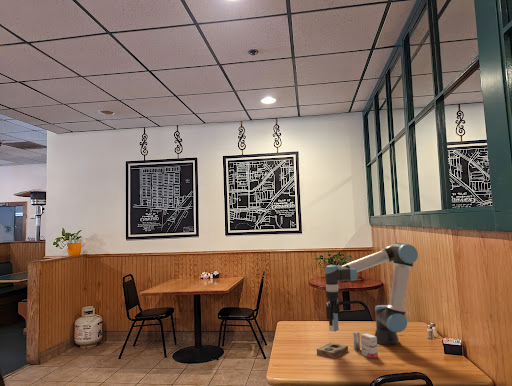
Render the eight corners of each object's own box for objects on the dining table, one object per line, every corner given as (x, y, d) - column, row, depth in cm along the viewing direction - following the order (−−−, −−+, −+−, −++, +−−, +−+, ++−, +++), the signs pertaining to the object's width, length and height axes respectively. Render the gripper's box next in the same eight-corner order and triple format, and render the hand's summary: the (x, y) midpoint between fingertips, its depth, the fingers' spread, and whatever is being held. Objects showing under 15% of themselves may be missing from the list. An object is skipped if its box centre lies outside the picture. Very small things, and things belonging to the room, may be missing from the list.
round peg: (361, 349, 227) (360, 332, 228) (358, 350, 224) (357, 333, 225) (355, 348, 229) (355, 331, 230) (353, 349, 226) (352, 332, 227)
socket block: (348, 351, 224) (347, 345, 224) (334, 358, 212) (334, 353, 213) (330, 347, 232) (330, 342, 232) (316, 354, 220) (316, 348, 221)
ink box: (378, 357, 212) (377, 336, 213) (371, 359, 210) (370, 337, 211) (367, 353, 220) (366, 332, 221) (361, 354, 218) (360, 334, 219)
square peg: (338, 330, 226) (337, 313, 227) (335, 331, 223) (334, 314, 224) (332, 329, 228) (332, 312, 229) (329, 330, 225) (328, 313, 226)
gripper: (333, 288, 237) (335, 325, 234) (319, 292, 224) (321, 332, 222) (344, 289, 232) (346, 327, 229) (330, 293, 219) (332, 334, 217)
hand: (333, 329), depth 226 cm, fingers closed on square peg, 4 cm apart
